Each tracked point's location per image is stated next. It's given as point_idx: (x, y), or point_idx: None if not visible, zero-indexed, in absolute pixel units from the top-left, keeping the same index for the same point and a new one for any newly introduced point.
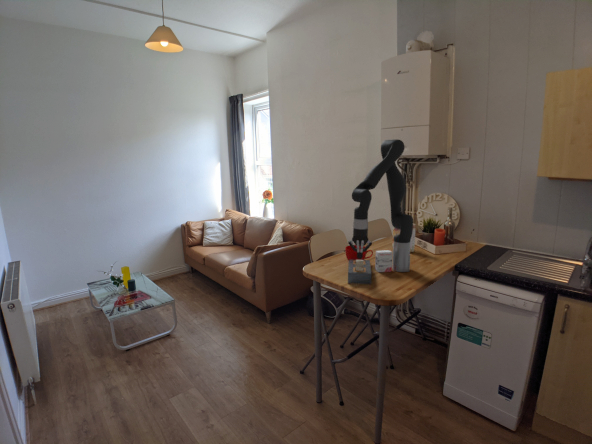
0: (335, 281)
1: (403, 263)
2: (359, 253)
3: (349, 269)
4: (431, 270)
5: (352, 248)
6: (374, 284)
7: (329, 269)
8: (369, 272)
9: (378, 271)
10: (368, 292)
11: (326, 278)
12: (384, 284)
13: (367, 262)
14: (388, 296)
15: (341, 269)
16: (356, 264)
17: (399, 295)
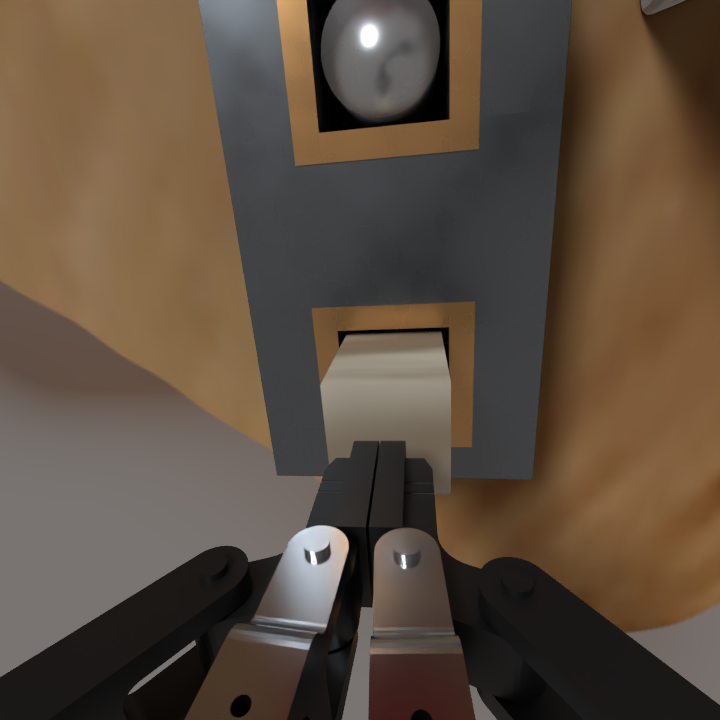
0: (201, 392)
1: None
2: (366, 587)
3: (276, 385)
4: None
5: (154, 703)
6: (538, 410)
7: (43, 66)
8: (513, 447)
9: (658, 10)
10: (472, 550)
11: (112, 340)
12: (636, 398)
13: (525, 4)
14: (613, 595)
15: (169, 25)
16: None
17: (706, 578)
